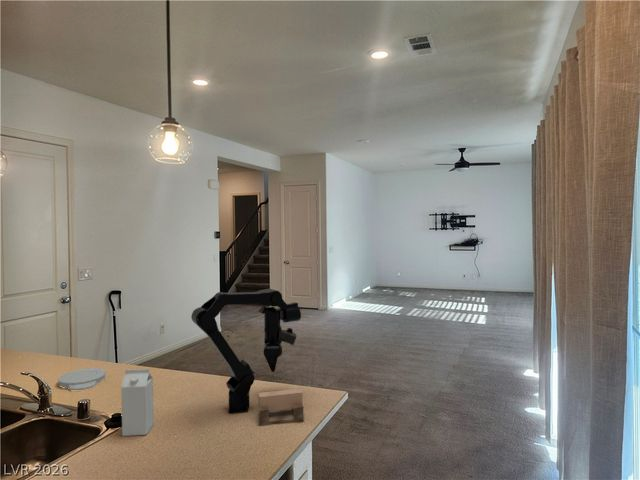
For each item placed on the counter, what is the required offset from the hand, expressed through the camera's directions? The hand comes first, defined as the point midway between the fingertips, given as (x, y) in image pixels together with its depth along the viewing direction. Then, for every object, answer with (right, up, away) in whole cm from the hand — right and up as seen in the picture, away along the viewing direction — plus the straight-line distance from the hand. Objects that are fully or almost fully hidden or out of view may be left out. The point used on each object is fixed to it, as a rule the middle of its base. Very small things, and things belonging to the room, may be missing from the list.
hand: (273, 367), depth 149 cm
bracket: (+4, -12, -13) cm, 18 cm away
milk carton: (-39, -13, -21) cm, 46 cm away
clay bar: (+4, -9, -13) cm, 16 cm away
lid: (-80, -13, +20) cm, 84 cm away
